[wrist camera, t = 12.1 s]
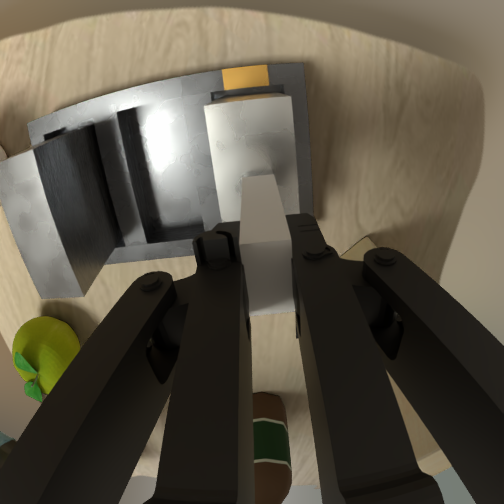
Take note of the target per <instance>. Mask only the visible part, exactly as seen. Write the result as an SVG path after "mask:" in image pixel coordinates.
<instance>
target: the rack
mask: <svg viewBox="0 0 504 504" xmlns="http://www.w3.org/2000/svg"><path fill="white" fill-rule="evenodd" d="M271 91H274V92H278V93H282V94H285V95H289V96H291V100H292V111H293V123H294V135H295V147H296V161H297V176H298V192H299V210H300V213H308V214H310V215H311V216H313V190H312V169H311V151H310V135H309V121H308V108H307V96H306V84H305V74H304V64H303V63H286V64H271V65H256V66H246V67H237V68H229V69H222V70H216V71H210V72H203V73H197V74H192V75H186V76H181V77H176V78H171V79H166V80H161V81H157V82H152V83H148V84H144V85H140V86H136V87H132V88H128V89H124V90H121V91H117V92H114V93H110V94H107V95H103V96H100V97H97V98H94V99H90V100H87V101H84V102H81V103H78V104H75V105H73V106H70V107H67V108H64V109H61V110H59V111H56V112H53V113H51V114H48V115H46V116H43V117H41V118H38V119H36V120H33V121H31V122H29V123H27V126H28V131H29V135H30V140H31V144H32V147H29V148H27V149H25V150H23V151H21V152H18V153H16V154H14V155H12V156H10V157H8V158H6V159H4V160H2V161H0V200H1V203H2V206H3V209H4V212H5V215H6V218H7V221H8V223H9V226H10V229H11V231H12V234H13V236H14V239H15V242H16V244H17V246H18V249H19V251H20V254H21V256H22V258H23V261H24V263H25V265H26V267H27V270H28V272H29V274H30V276H31V278H32V280H33V283H34V285H35V287H36V289H37V291H38V293H39V295H40V297H41V299H50V298H70V297H84V296H85V294H86V293H87V291H88V290H89V288H90V286H91V285H92V283H93V281H94V280H95V278H96V277H97V275H98V274H99V272H100V270H101V269H102V267H103V266H104V265H106V264H116V263H125V262H134V261H144V260H153V259H163V258H172V257H182V256H191V255H195V254H194V249H193V245H192V241H193V239H194V238H195V237H196V236H198V235H199V234H201V233H203V232H206V231H209V230H212V229H213V228H214V227H215V226H216V225H217V224H218V223H222V220H221V214H220V207H219V201H218V195H217V189H216V183H215V176H214V170H213V164H212V157H211V151H210V144H209V138H208V131H207V124H206V117H205V111H204V106H205V105H206V104H208V103H210V102H212V101H214V100H216V99H218V98H220V97H225V96H233V95H241V94H250V93H260V92H271Z"/></svg>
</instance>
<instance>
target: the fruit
mask: <svg viewBox="0 0 504 504" xmlns="http://www.w3.org/2000/svg"><path fill="white" fill-rule="evenodd" d="M79 351H80V344H79V340H78V337H77V336H76V334H75V332H74V331H73V330H72V328H71V327H70V326H69V325H68V324H67V323H65V322H63V321H60V320H58V319H56V318H53V317H48V316H42V317H37V318H34V319H31V320H29V321H28V322H26V323H25V324H24V325H22V326H21V327H20V329H19V330H18V332H17V333H16V335H15V338H14V341H13V348H12V355H13V363H14V367H15V368H16V370H17V371H18V372H19V374H20V376H21V377H22V378H23V380H24V381H26V382H27V383H26V384H25V386H24V388H25V393H26V395H28V396H29V397H31V398H34V399H35V400H37V401H40V402H42V394H41V393H44V394H49V393H50V391H51V390H52V388H53V387H54V385H55V384H56V383H57V381H58V380H59V378H60V377H61V376H62V374H63V373H64V371H65V370H66V369H67V367H68V366H69V364H70V363H71V362H72V360H73V359H74V358H75V356H76V355H77V354H78V352H79Z"/></svg>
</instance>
